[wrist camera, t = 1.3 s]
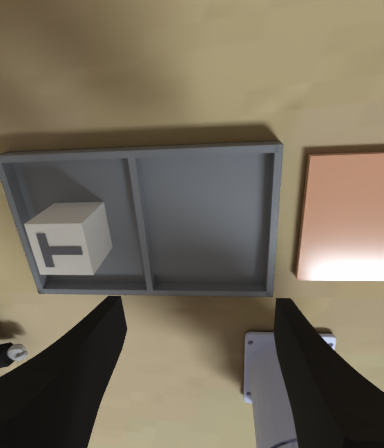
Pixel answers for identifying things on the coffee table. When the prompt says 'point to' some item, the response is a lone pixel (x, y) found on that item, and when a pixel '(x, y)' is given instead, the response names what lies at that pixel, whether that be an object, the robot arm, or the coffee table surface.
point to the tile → (342, 218)
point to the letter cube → (70, 238)
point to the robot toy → (11, 353)
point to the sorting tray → (160, 215)
